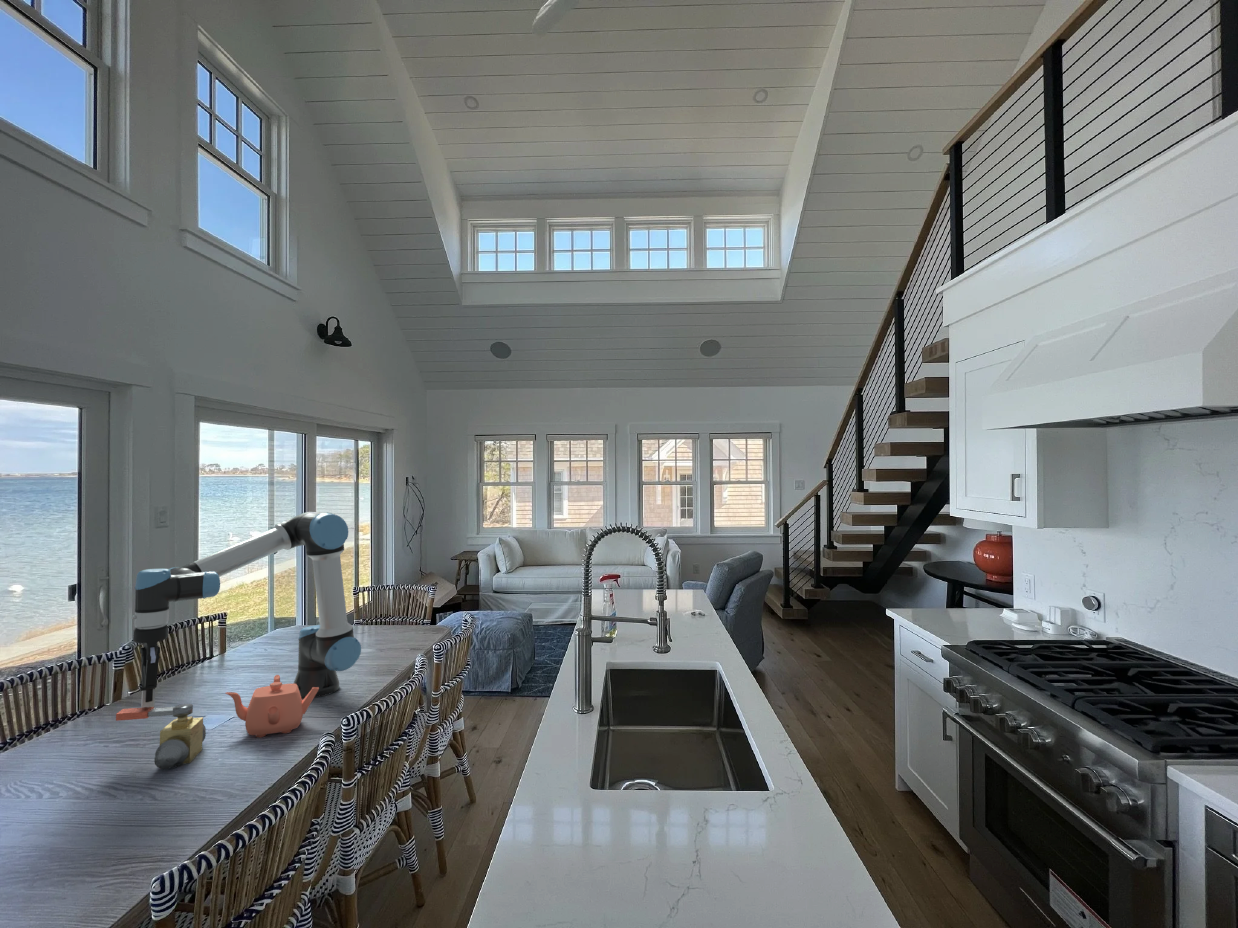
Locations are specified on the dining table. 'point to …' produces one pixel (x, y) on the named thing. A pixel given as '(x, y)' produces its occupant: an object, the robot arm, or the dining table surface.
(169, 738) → the valve body
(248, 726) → the teapot
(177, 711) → the lever
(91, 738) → the dining table surface
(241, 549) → the robot arm
